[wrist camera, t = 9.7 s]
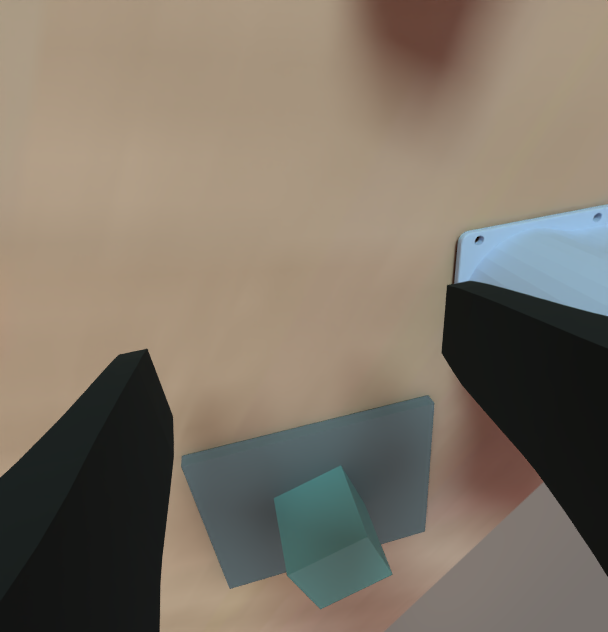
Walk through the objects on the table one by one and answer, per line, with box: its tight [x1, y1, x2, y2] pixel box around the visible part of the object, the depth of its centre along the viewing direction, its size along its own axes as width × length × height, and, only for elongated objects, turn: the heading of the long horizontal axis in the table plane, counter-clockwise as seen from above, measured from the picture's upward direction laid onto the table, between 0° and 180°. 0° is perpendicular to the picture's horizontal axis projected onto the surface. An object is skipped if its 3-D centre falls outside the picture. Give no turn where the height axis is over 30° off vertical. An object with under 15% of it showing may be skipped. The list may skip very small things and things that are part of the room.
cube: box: [274, 466, 393, 609], centre depth 26 cm, size 5×5×5 cm
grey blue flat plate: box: [181, 395, 434, 589], centre depth 28 cm, size 16×14×1 cm
